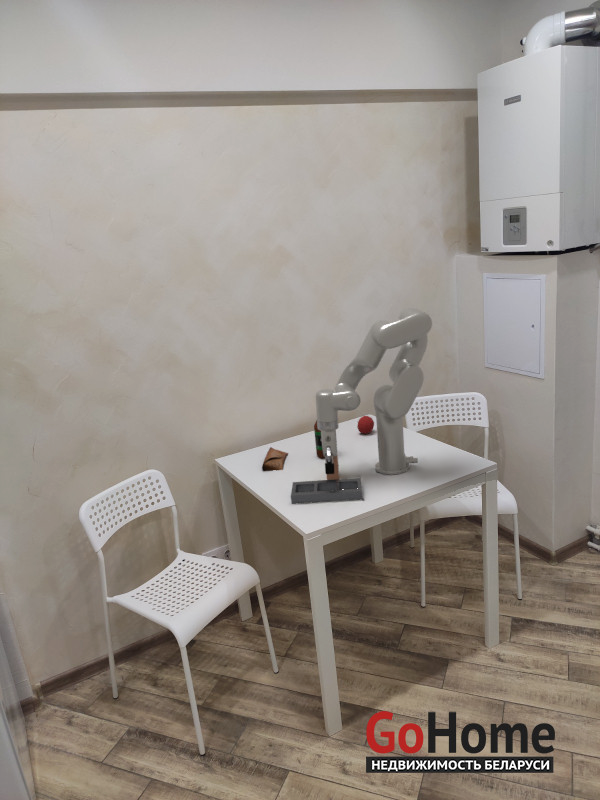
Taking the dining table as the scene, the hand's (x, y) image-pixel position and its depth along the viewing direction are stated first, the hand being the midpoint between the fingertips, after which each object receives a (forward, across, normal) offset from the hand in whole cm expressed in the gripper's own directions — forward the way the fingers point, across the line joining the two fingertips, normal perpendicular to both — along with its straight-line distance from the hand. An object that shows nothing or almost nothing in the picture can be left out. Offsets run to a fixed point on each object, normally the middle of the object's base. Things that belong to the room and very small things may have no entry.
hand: (330, 468), depth 223 cm
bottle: (+4, +22, +2) cm, 23 cm away
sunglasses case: (+5, +19, +22) cm, 30 cm away
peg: (+4, 0, -1) cm, 4 cm away
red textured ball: (+3, +45, -15) cm, 48 cm away
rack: (+4, -14, +1) cm, 14 cm away
